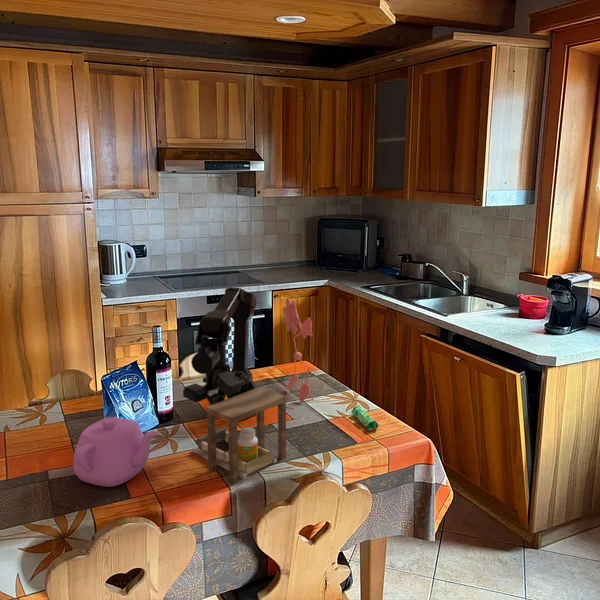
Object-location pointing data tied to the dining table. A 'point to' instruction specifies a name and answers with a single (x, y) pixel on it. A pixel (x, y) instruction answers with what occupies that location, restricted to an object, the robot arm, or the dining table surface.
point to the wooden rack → (247, 468)
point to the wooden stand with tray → (232, 413)
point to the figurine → (306, 328)
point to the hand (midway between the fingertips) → (217, 414)
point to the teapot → (111, 452)
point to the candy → (364, 418)
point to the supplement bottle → (247, 445)
